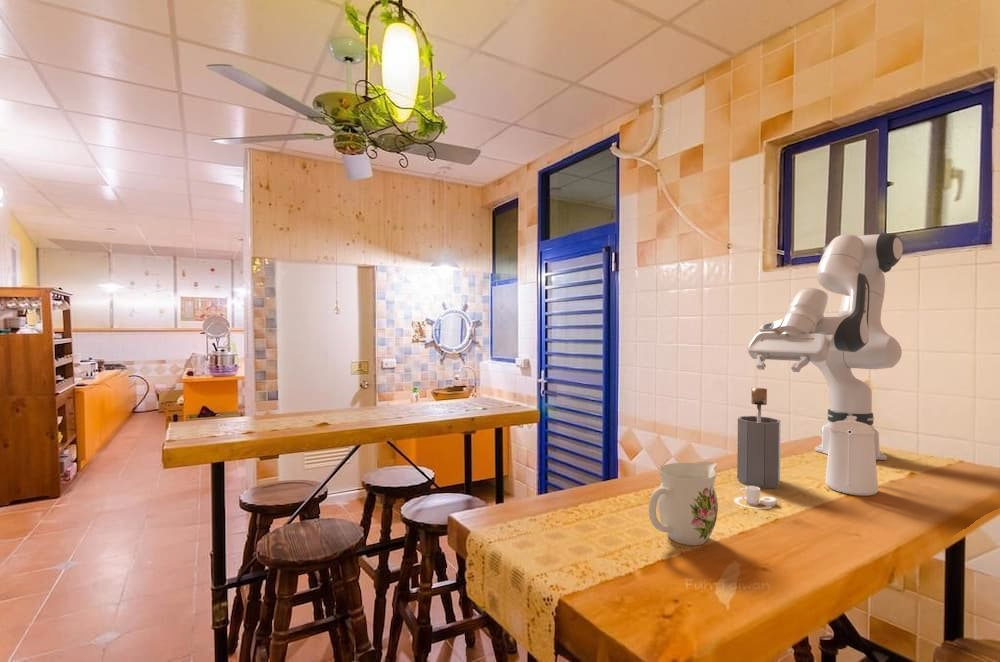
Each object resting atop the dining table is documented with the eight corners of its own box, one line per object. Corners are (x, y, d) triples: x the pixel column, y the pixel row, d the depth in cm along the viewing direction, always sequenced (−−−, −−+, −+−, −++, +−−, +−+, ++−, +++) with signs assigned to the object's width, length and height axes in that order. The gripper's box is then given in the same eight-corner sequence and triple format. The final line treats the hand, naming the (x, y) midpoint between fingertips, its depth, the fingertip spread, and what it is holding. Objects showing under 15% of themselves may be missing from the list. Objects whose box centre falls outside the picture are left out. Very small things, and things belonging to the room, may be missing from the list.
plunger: (745, 472, 135) (746, 386, 135) (775, 477, 131) (776, 388, 131) (741, 479, 129) (741, 389, 129) (772, 484, 125) (773, 391, 125)
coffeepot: (821, 499, 118) (821, 421, 117) (828, 474, 137) (829, 407, 137) (878, 509, 111) (879, 426, 111) (877, 481, 131) (878, 411, 131)
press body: (743, 472, 139) (743, 413, 139) (782, 478, 134) (782, 417, 134) (735, 484, 129) (735, 420, 129) (777, 491, 123) (777, 424, 123)
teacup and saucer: (779, 505, 115) (780, 488, 115) (770, 515, 109) (770, 496, 109) (739, 496, 121) (740, 480, 121) (729, 505, 115) (729, 488, 115)
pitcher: (628, 538, 96) (629, 468, 96) (691, 520, 105) (691, 456, 105) (673, 561, 86) (673, 483, 86) (738, 539, 95) (738, 469, 95)
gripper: (840, 340, 131) (822, 380, 126) (764, 339, 149) (746, 374, 143) (831, 324, 129) (813, 363, 124) (755, 325, 146) (737, 359, 141)
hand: (776, 369), depth 134 cm, fingers open, 8 cm apart
